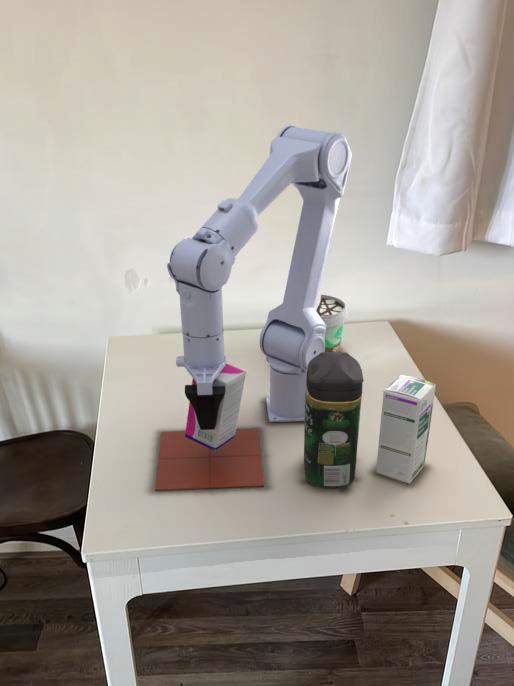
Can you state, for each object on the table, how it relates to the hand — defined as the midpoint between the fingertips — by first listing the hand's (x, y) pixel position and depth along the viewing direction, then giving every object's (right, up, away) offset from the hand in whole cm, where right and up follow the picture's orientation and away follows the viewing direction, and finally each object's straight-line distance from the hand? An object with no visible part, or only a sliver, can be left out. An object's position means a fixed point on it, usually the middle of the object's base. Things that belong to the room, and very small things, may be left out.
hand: (207, 414), depth 104 cm
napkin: (0, -6, +5) cm, 8 cm away
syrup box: (+29, -8, +3) cm, 31 cm away
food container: (+21, +15, +35) cm, 44 cm away
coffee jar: (+18, -9, +2) cm, 20 cm away
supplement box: (0, -3, +2) cm, 4 cm away
